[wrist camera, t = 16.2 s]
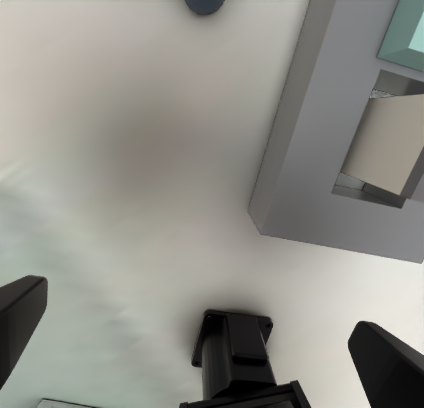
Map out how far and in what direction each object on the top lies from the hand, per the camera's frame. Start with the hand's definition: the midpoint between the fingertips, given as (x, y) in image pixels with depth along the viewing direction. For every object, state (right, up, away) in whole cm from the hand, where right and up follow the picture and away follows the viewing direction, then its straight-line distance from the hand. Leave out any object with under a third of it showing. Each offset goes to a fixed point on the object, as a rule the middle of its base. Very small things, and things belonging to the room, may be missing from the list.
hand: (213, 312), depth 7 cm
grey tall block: (+10, +8, +11) cm, 17 cm away
